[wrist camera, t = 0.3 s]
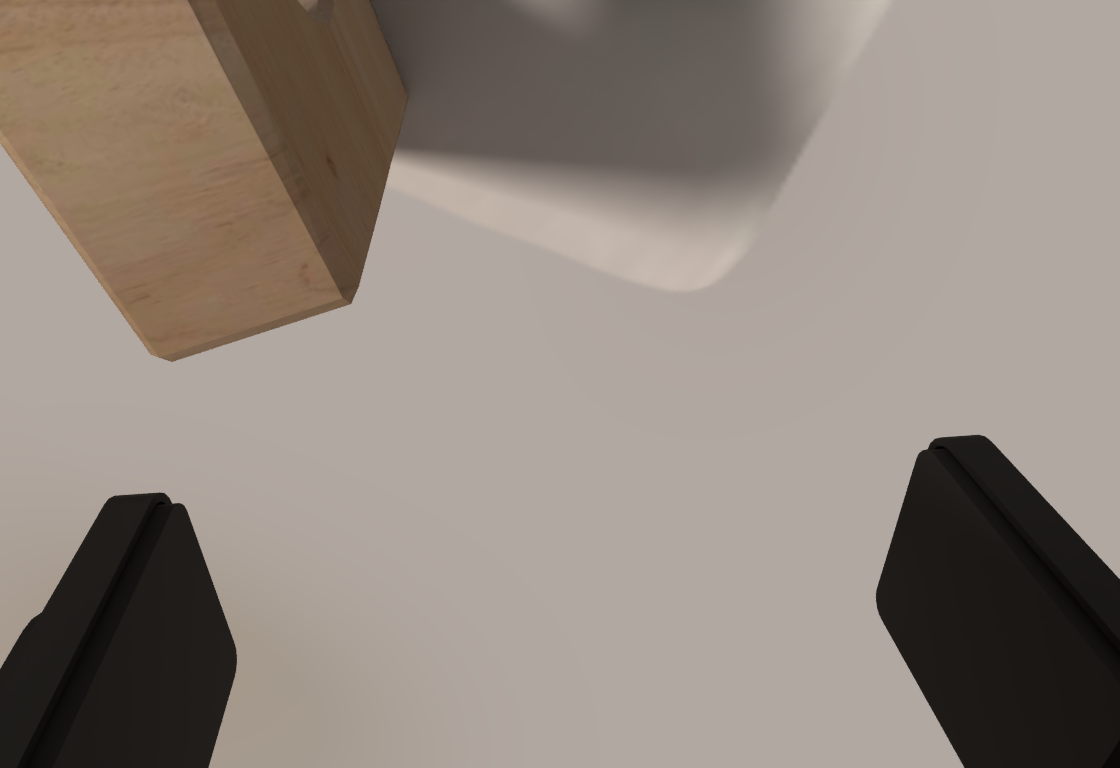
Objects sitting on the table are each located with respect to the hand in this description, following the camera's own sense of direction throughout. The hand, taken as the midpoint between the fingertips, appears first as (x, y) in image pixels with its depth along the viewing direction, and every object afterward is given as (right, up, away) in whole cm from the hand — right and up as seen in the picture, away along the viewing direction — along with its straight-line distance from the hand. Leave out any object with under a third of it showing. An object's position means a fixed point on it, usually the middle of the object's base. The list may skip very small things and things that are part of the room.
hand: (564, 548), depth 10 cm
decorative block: (-11, +18, +23) cm, 31 cm away
